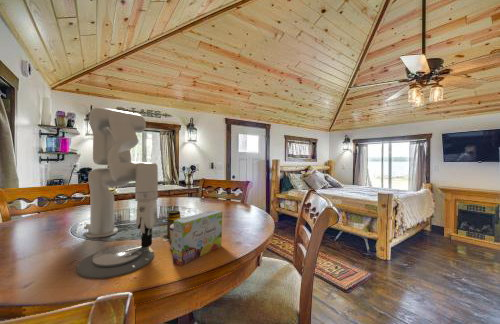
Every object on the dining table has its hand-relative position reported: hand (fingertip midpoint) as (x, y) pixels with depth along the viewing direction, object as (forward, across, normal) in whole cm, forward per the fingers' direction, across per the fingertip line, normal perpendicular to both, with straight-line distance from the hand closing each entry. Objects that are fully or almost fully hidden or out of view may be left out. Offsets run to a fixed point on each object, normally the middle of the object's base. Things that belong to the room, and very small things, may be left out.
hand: (146, 245), depth 80 cm
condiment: (+4, +21, -5) cm, 22 cm away
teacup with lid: (+5, +7, -11) cm, 13 cm away
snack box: (+5, +1, -19) cm, 20 cm away
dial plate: (+4, -2, +9) cm, 10 cm away
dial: (+3, -1, +8) cm, 8 cm away
